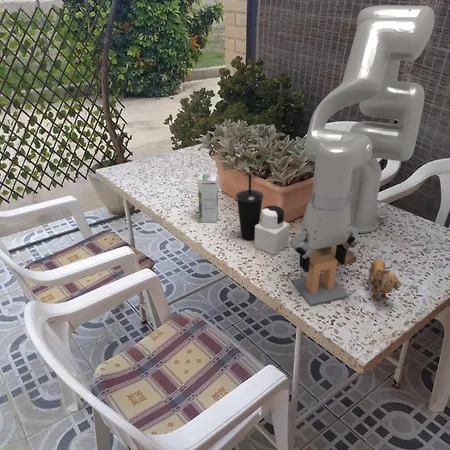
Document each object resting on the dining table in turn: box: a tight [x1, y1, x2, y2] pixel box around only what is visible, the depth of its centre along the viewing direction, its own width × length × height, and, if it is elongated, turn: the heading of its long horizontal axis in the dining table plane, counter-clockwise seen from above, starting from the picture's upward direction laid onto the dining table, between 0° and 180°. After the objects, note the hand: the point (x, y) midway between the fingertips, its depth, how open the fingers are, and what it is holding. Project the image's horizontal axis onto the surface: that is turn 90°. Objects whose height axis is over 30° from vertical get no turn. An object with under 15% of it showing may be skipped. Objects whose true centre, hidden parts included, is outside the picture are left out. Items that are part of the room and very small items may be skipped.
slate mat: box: [291, 272, 350, 307], centre depth 102 cm, size 10×10×1 cm
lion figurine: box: [366, 258, 403, 301], centre depth 100 cm, size 15×5×9 cm, turn 0°
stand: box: [304, 240, 358, 267], centre depth 110 cm, size 12×16×12 cm
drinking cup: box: [235, 173, 264, 242], centre depth 120 cm, size 8×8×20 cm
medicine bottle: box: [254, 205, 291, 256], centre depth 117 cm, size 7×7×12 cm
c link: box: [306, 254, 338, 293], centre depth 100 cm, size 6×3×8 cm, turn 108°
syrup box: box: [197, 172, 219, 224], centre depth 131 cm, size 6×6×14 cm
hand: (322, 264), depth 99 cm, fingers open, 9 cm apart
